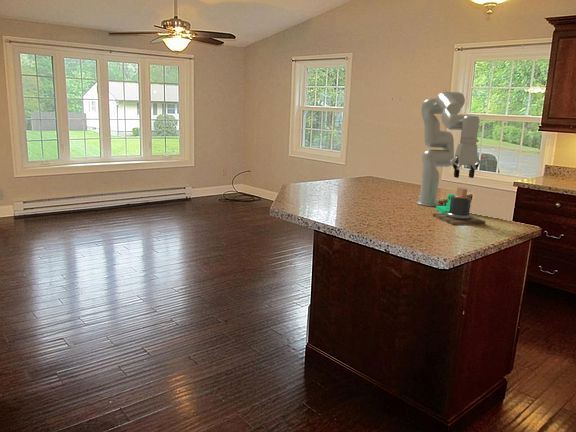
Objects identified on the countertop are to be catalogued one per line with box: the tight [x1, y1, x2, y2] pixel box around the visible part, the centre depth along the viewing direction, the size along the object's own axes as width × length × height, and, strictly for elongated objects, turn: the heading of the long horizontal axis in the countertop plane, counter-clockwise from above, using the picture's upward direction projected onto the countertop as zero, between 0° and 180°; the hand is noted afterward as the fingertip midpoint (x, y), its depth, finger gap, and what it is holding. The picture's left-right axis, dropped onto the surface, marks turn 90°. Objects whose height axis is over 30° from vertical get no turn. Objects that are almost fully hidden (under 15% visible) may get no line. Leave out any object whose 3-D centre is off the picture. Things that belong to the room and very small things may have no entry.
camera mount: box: [435, 193, 457, 213], centre depth 260 cm, size 12×8×10 cm, turn 11°
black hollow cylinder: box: [446, 196, 473, 220], centre depth 243 cm, size 12×12×10 cm
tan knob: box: [454, 186, 469, 199], centre depth 242 cm, size 6×6×9 cm
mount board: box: [432, 212, 486, 226], centre depth 245 cm, size 18×18×2 cm
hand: (463, 177), depth 240 cm, fingers open, 7 cm apart
